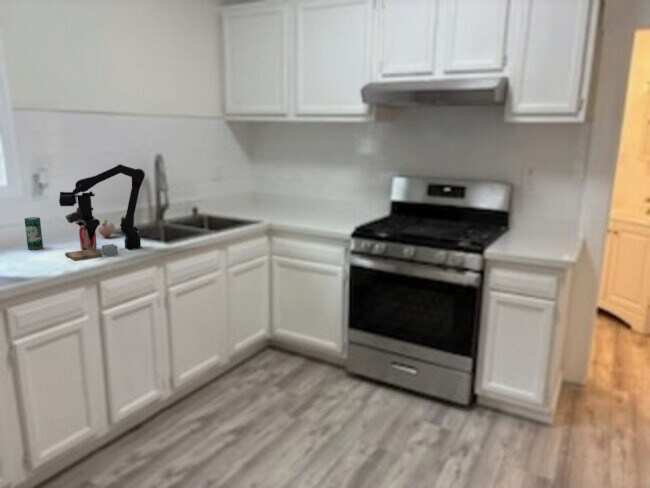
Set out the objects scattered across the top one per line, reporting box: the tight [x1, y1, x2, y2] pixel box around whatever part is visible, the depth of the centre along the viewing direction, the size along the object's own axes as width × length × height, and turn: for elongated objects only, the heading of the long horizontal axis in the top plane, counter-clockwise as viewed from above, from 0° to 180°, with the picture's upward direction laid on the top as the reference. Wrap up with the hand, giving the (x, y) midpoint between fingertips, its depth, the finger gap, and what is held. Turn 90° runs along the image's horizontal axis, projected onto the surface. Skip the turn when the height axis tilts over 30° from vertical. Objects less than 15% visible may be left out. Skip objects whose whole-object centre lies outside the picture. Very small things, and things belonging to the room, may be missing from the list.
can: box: [24, 216, 44, 251], centre depth 234 cm, size 6×6×15 cm
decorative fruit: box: [97, 218, 116, 238], centre depth 262 cm, size 9×8×10 cm
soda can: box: [78, 225, 98, 251], centre depth 232 cm, size 7×7×12 cm
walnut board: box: [64, 249, 103, 262], centre depth 222 cm, size 12×12×2 cm
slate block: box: [101, 243, 119, 258], centre depth 225 cm, size 5×5×4 cm
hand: (87, 238), depth 232 cm, fingers open, 7 cm apart
